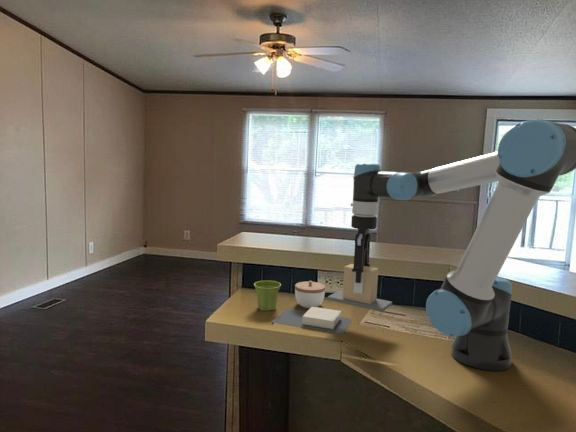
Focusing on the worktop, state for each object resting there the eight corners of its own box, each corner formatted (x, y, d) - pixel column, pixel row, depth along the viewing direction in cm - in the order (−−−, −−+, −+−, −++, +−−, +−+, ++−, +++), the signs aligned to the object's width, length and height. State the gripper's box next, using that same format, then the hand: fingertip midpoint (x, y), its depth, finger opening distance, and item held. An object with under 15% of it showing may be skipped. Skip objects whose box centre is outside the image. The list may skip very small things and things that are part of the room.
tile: (341, 310, 146) (311, 306, 149) (333, 321, 137) (302, 316, 140) (340, 319, 146) (311, 314, 150) (333, 330, 137) (302, 324, 140)
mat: (352, 320, 147) (352, 318, 147) (343, 336, 134) (343, 334, 134) (286, 310, 155) (286, 308, 155) (271, 324, 142) (271, 322, 142)
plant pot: (249, 310, 153) (249, 286, 152) (258, 302, 162) (259, 279, 161) (275, 314, 150) (276, 289, 149) (283, 305, 159) (284, 282, 158)
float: (392, 304, 137) (394, 269, 136) (382, 312, 130) (384, 275, 129) (338, 293, 147) (340, 260, 145) (327, 299, 140) (329, 265, 138)
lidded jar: (325, 312, 154) (326, 286, 153) (294, 311, 154) (295, 284, 153) (323, 302, 165) (324, 277, 163) (294, 301, 165) (295, 276, 163)
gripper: (358, 211, 145) (354, 280, 148) (345, 217, 127) (341, 296, 130) (381, 212, 142) (376, 283, 145) (371, 220, 125) (366, 300, 128)
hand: (360, 289), depth 138 cm, fingers closed on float, 6 cm apart
